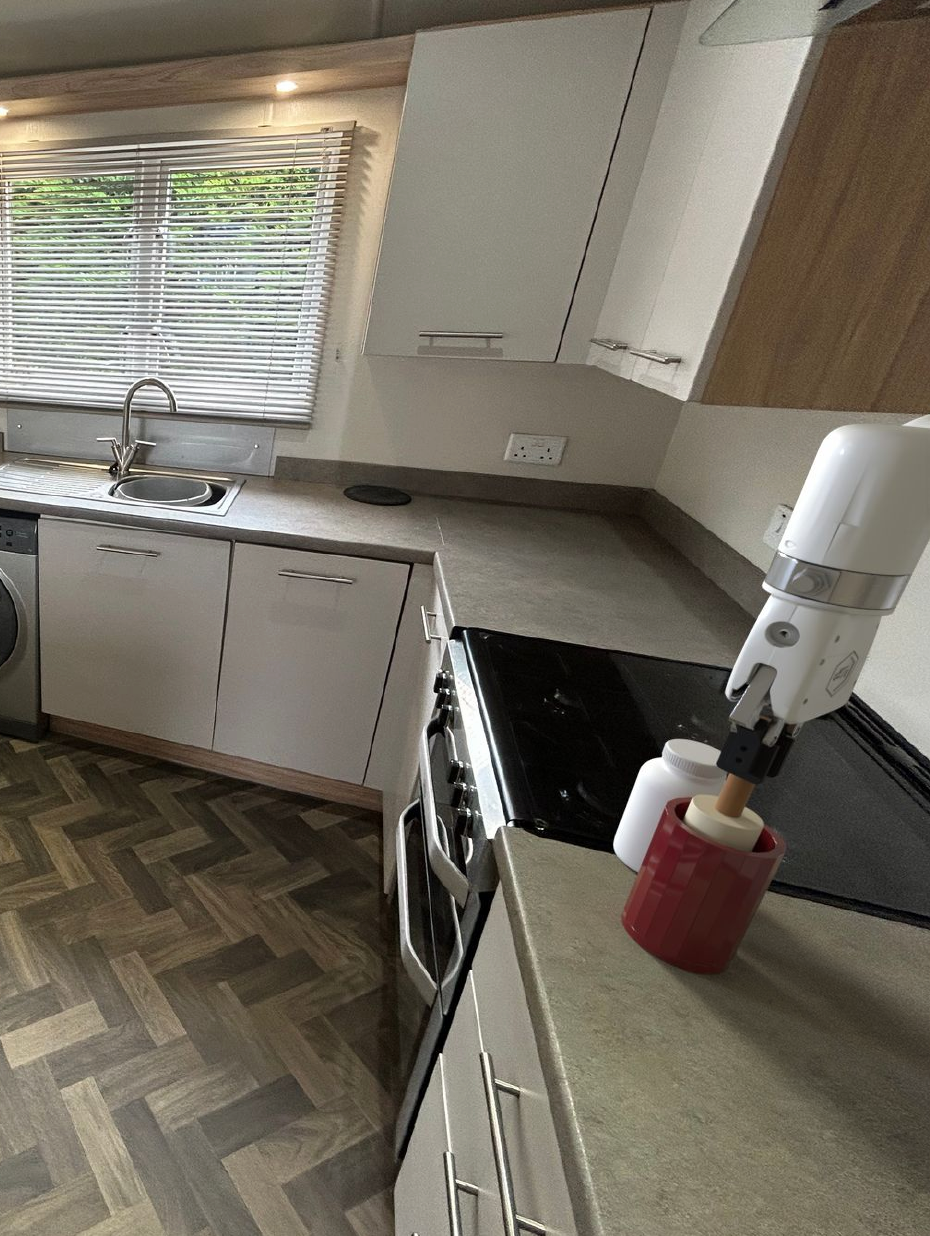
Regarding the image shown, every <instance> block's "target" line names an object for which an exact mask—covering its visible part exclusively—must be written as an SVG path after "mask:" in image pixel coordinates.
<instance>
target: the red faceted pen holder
mask: <svg viewBox="0 0 930 1236" xmlns="http://www.w3.org/2000/svg"><path fill="white" fill-rule="evenodd" d="M691 801H692V797H682V798H674V799H672V800H670V801H668V802H667V804H666V806H665V808H664V811H663V813H662V815H661V818H660V820H659V823H658V825H657V828H656V830H655V833H654V835H653V838H652V840H651V843H650V845H649V847H648V850H647V852H646V855H645V857H644V860H643V862H642V865H641V867H640V870H639V872H637V875H636V878H635V880H634V882H633V885H632V887H631V890H630V892H629V894H628V896H627V897H628V898H627V899H626V902H625V905H624V907H623V909H622V913H621V917H620V919H621V923H622V926H623V928H624V929H625V931H626V933H627V934H628V935H629V936H630V937H631V939H633V941H635V942H636V944H638V945H639V946H640V947H641V948H642V949H644V950H645V951H647V952H648V953H650V954H652V955H653V956H654V957H656V958H657V959H660V960H662V961H663V962H665V963H668V964H669V965H672V966H674V967H676V968H679V969H682V970H685V971H688V972H691V973H696V974H702V975H717V974H721V973H723V972H725V971H726V970H727V969H729V967H730V965H731V962H732V961H733V960H734V958H735V956H736V954H737V951H738V950H739V948H740V945H741V943H742V941H743V939H744V937H745V935H746V933H747V931H748V930H749V927H750V925H751V923H752V921H753V919H754V917H755V915H756V913H757V911H758V909H759V907H760V905H761V903H762V901H763V899H764V897H765V895H766V893H767V892H768V889H769V887H770V885H771V884H772V881H773V879H774V877H775V875H776V873H777V871H778V869H779V867H780V865H781V863H782V860H783V858H784V857H785V854H786V851H787V844H786V842H785V841H784V839H783V838H782V837H781V836H780V835H779V833H777V831H775V830H774V829H773V828H771V827H770V826H768V825H767V824H765V823H764V827H763V829H762V831H761V833H760V835H759V837H758V839H757V842H756V844H755V846H754V848H753V850H752V852H748V851H741V850H738V849H734V848H730V847H727V846H724V845H721V844H719V843H716V842H714V841H711V840H709V839H707V838H705V837H703V836H702V835H700V834H698V833H696V832H694V831H693V830H692V829H690V828H689V827H687V826H686V825H685V824H683V823H682V822H683V819H684V817H685V815H686V812H687V810H688V808H689V805H690V803H691Z"/></svg>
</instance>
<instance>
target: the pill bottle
mask: <svg viewBox="0 0 930 1236" xmlns="http://www.w3.org/2000/svg"><path fill="white" fill-rule="evenodd" d="M721 751H722V750H719V749H717V748H715V747H713V746H712V745H709V744H706V743H703V742H699V741H695V740H693V739H692V740H691V739H685V738H673V739H670V740H668V741H667V742H665V743H664V747H663V749H662V752H661V755H662V756H661V757H655V758H652V759H650V760H647V761H646V762H644V764H643V765H642V766H641V767H640V769H639V772H638V774H637V777H636V779H635V782H634V785H633V788H632V790H631V793H630V795H629V797H628V801H627V803H626V807H625V809H624V811H623V814H622V817H621V819H620V822H619V825H618V828H617V830H616V833H615V835H614V839H613V842H612V843H613V844H612V845H613V850H614V853H615V854H616V856H617V857H618V859H619V860H620V861H621V862H623V864H624V865H625V866H627V867H629V868H630V869H631V870H632V871H635V872H637V873H638V872H639V870H640V867H641V865H642V862H643V860H644V857H645V855H646V852H647V850H648V847H649V845H650V843H651V840H652V838H653V835H654V833H655V830H656V828H657V825H658V823H659V820H660V818H661V815H662V813H663V811H664V808H665V806H666V804H667V802H668V801H670V800H672V799H674V798H682V797H692V798H693V797H695V796H697V795H712V796H717V797H719V796H720V793H721V791H722V789H723V787H724V784H725V782H726V780H727V774H728V772H726V771H724V770H722V769H720V768H718V767H717V765H716V762H717V760H718V758H719V755H720V753H721Z"/></svg>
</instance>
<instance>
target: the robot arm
mask: <svg viewBox="0 0 930 1236" xmlns="http://www.w3.org/2000/svg"><path fill="white" fill-rule="evenodd" d="M810 467H811V468H810V469H809V472H808V475H807V477H806V479H805V481H804V484H803V486H802V489H801V491H800V494H799V497H798V499H797V500H796V504H795V505H794V508H793V510H792V513H791V515H790V518H789V520H788V522H787V525H786V528H785V530H784V533H783V535H782V538H781V540H780V542H779V545H778V547H777V549H776V551H775V554H774V556H773V558H772V561H771V564H770V566H769V568H768V571H767V573H766V575H765V577H764V580H763V582H762V584H761V587H762V590H765V592H767V593H769V594H770V596H769V597H768V599H767V601H766V602H765V604H764V606H763V608H762V609H761V611H760V613H759V614H758V616H757V619H756V621H755V623H754V624H753V626H752V628H751V630H750V633H749V635H748V636H747V639H745V642H744V644H743V646H742V648H741V650H740V653H739V655H738V657H737V659H736V661H735V663H734V666H733V668H732V670H731V673H730V676H729V678H728V681H727V683H726V684H727V685H726V687H725V691H724V694H725V696H726V698H727V699H728V700H729V702H732V703H736V702H737V703H736V705H735V707H734V708H733V710H732V711H731V713H730V715H729V717H728V721H729V722H731V725H730V727H729V733H728V735H727V737H726V740H725V742H724V744H723V746H722V749H721V750H720V751H721V753H720V755H719V758H718V760H717V762H716V765H717V767H718V768H720V769H722V770H724V771H726V772H727V774H729V773H731V774H733V775H735V776H737V777H739V778H742V779H744V780H746V781H748V782H750V783H752V784H755V786H757V785H760V784H763V783H764V781H765V779H766V778H767V777H768V778H772V779H773V778H776V777H778V776H779V775H780V773H781V772H782V769H783V768H784V765H785V763H786V760H787V759H788V756H789V755H790V752H791V750H792V748H793V747H794V744H795V742H796V739H794V738H796V737H797V736H798V735H799V734H800V732H801V729H802V728H803V726H804V723H805V722H808V721H810V720H813V719H816V718H819V717H821V716H824V715H826V714H829V713H832V712H833V711H836V710H838V709H841V707H843V706H845V704H847V703H848V701H849V700H850V698H851V696H852V693H853V691H854V689H855V687H856V684H857V682H858V679H859V677H860V675H861V672H862V669H863V668H864V665H865V663H866V661H867V658H868V655H869V654H870V650H871V649H872V646H873V643H874V640H875V638H876V635H877V633H878V630H879V627H880V624H881V620H882V618H883V617H888V616H889V615H890V616H891V615H893V614H894V612H895V611H896V608H897V606H898V604H899V603H900V600H901V598H902V596H903V594H904V592H905V590H906V588H907V586H908V584H909V582H910V580H911V578H912V576H913V573H914V572H915V570H916V567H917V565H918V564H919V562H920V559H921V557H922V555H923V553H924V551H925V550H926V548H927V545H928V544H929V542H930V414H925V415H923V416H920V417H918V418H915V419H912V420H910V421H908V422H906V423H904V424H902V425H900V424H887V423H886V424H885V423H853V424H846V425H841V426H839V427H837V428H835V429H833V430H832V431H830V432H829V433H828V434H827V435H826V437H824V439H823V440H822V442H821V444H820V447H819V448H818V450H817V453H816V455H815V457H814V460H813V462H812V465H811V466H810ZM759 714H760V715H762V716H765V717H767V718H770V719H771V722H770V724H769V726H768V721H767V720H765V719H763V718H760V717H759Z"/></svg>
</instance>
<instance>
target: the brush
mask: <svg viewBox="0 0 930 1236" xmlns="http://www.w3.org/2000/svg"><path fill="white" fill-rule="evenodd" d="M759 717H760V718H763V719H765V720H767V721H768V726H769V724H770V722H771V719H770V718H767V717H765V716H762V715H760V714H759ZM755 786H756V784H752V783H750V782H748V781H746V780H744V779H742V778H739V777H737V776H735V775H733V774H731V773H728V776H727V777H726V782H725V784H724V787H723V789H722V791H721V793H720V796H719V797H717V796H712V795H697V796H695V797H693V798H692V801H691V803H690V805H689V808H688V810H687V812H686V815H685V817H684V819H683V822H682V823H683V824H685V825H686V826H687V827H689V828H690V829H692V830H693V831H694V832H696V833H698V834H700V835H702V836H703V837H705V838H707V839H709V840H711V841H714V842H716V843H719V844H721V845H724V846H727V847H730V848H734V849H738V850H741V851H748V852H752V850H753V848H754V846H755V844H756V842H757V839H758V837H759V835H760V833H761V831H762V829H763V827H764V824H765V822H764V820H763V819H762V817H760V815H758V814H757V813H756V812H754V811H753V810H752V809H750V808H748V807H746V806H747V803H748V801H749V800H750V797H751V795H752V792H753V791H754V789H755Z"/></svg>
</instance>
